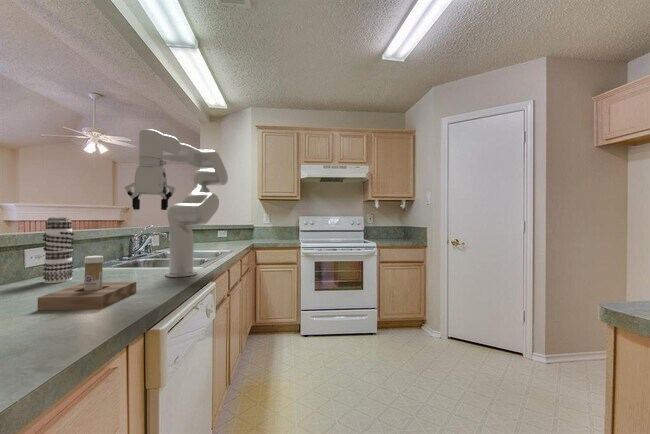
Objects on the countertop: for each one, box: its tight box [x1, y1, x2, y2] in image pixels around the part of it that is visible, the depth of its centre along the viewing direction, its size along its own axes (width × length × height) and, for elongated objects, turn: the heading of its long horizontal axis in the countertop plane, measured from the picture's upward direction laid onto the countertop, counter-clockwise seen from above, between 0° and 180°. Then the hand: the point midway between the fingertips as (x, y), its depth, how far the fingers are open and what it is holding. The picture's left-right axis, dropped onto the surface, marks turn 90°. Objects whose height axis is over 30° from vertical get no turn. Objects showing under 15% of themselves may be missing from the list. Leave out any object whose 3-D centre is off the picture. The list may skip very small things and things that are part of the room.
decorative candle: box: [42, 216, 75, 284], centre depth 112 cm, size 9×9×25 cm
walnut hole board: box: [36, 281, 137, 311], centre depth 87 cm, size 18×16×4 cm
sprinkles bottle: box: [83, 255, 104, 292], centre depth 87 cm, size 5×5×14 cm
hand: (150, 209), depth 106 cm, fingers open, 9 cm apart
